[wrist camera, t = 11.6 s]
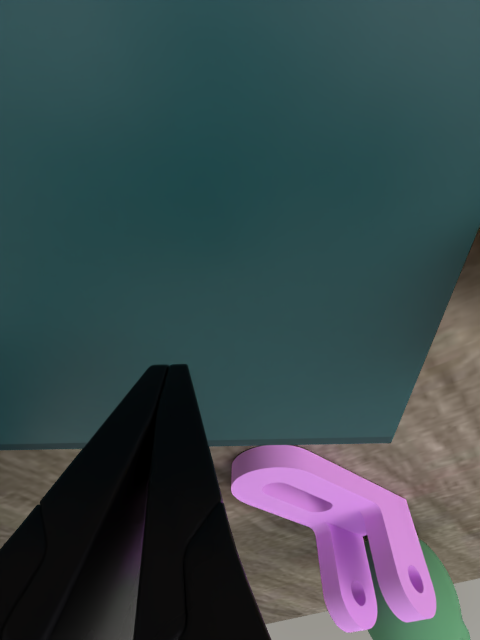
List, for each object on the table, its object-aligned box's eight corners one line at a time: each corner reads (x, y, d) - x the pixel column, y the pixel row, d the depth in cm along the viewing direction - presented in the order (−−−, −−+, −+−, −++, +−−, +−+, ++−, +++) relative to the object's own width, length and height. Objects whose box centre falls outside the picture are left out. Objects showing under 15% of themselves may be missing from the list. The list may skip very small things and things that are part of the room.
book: (373, 387, 18) (391, 443, 16) (-61, 398, 19) (-101, 452, 17) (540, -179, 7) (678, -256, 5) (-529, -88, 8) (-830, -116, 6)
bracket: (405, 499, 27) (444, 623, 22) (344, 521, 30) (365, 636, 24) (274, 433, 21) (284, 579, 16) (213, 469, 24) (205, 602, 19)
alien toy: (387, 553, 34) (426, 710, 27) (327, 534, 31) (353, 705, 24) (456, 531, 31) (523, 706, 23) (395, 507, 28) (451, 699, 20)
